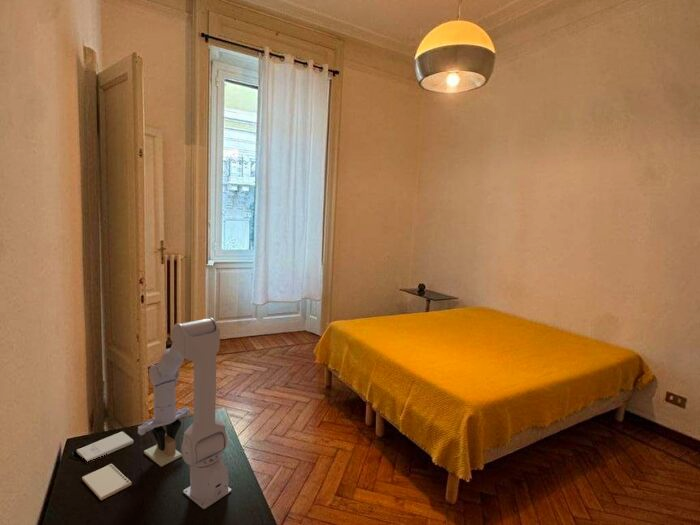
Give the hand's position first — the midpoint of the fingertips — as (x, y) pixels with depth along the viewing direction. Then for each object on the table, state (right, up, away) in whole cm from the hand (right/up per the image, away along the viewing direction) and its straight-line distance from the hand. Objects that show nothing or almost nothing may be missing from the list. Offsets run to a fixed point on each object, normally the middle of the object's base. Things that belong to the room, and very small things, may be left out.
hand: (166, 447), depth 110 cm
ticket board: (-9, -3, -12) cm, 16 cm away
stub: (-1, -2, -1) cm, 2 cm away
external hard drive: (-19, -2, +2) cm, 20 cm away
